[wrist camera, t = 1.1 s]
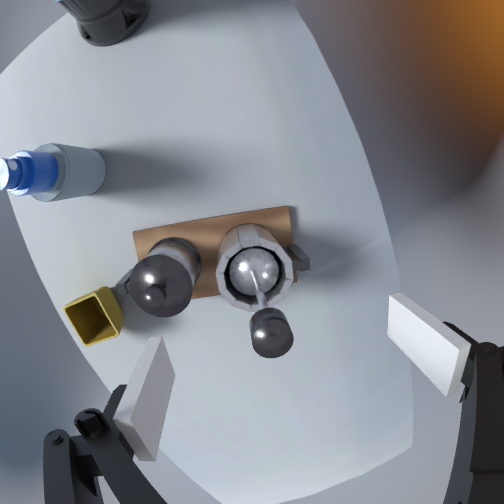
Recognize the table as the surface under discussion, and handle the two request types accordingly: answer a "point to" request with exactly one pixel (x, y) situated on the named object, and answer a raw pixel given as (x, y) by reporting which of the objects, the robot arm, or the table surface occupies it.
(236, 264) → the plunger
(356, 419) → the table surface
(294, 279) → the serving board
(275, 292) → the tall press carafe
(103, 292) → the flower pot
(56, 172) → the spray bottle
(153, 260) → the short press
